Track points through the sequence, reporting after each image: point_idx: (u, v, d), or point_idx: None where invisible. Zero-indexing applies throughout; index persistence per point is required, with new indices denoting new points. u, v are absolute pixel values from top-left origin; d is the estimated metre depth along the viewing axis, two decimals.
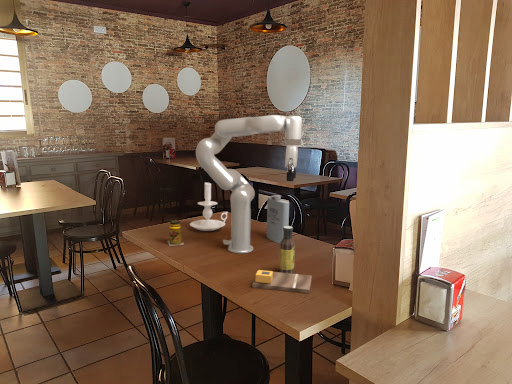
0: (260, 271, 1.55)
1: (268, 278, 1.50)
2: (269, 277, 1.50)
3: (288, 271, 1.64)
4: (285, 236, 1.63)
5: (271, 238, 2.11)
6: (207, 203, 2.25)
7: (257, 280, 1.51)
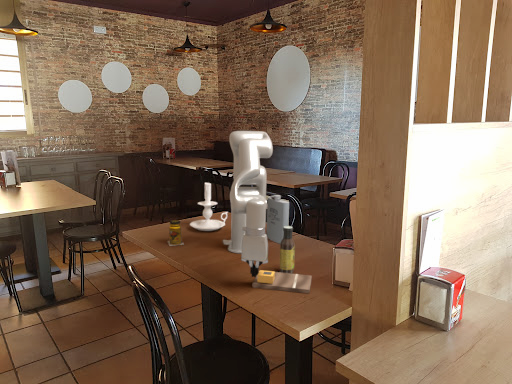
0: (262, 271, 1.54)
1: (270, 278, 1.50)
2: (271, 277, 1.50)
3: (288, 271, 1.64)
4: (285, 236, 1.63)
5: (271, 238, 2.11)
6: (207, 203, 2.25)
7: (259, 280, 1.51)
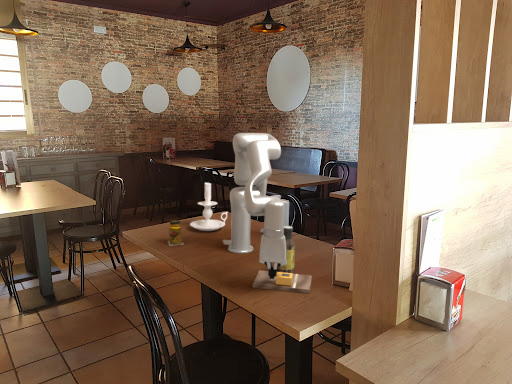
0: (280, 273, 1.53)
1: (288, 280, 1.49)
2: (289, 279, 1.49)
3: (288, 271, 1.64)
4: (285, 236, 1.63)
5: None
6: (207, 203, 2.25)
7: (278, 282, 1.50)
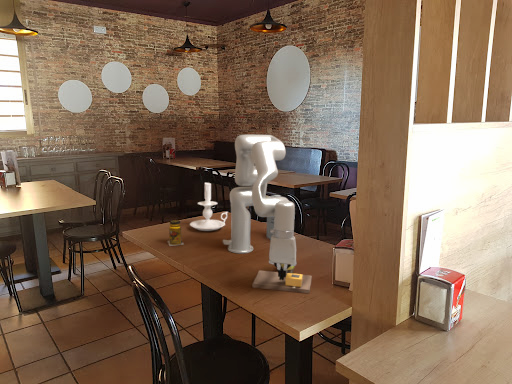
0: (289, 274, 1.52)
1: (298, 281, 1.48)
2: (299, 280, 1.48)
3: (288, 271, 1.64)
4: None
5: None
6: (207, 203, 2.25)
7: (287, 283, 1.49)
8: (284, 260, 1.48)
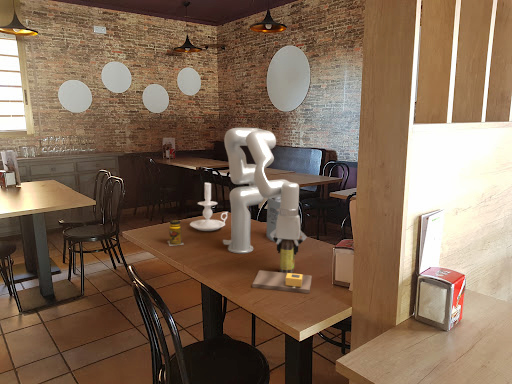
0: (289, 274, 1.52)
1: (298, 281, 1.48)
2: (299, 280, 1.48)
3: (288, 271, 1.64)
4: None
5: (271, 238, 2.11)
6: (207, 203, 2.25)
7: (288, 283, 1.49)
8: (289, 236, 1.62)
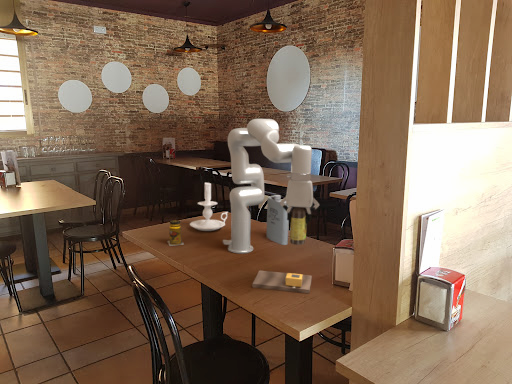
0: (289, 274, 1.52)
1: (298, 281, 1.48)
2: (299, 280, 1.48)
3: (299, 242, 1.52)
4: None
5: (271, 238, 2.11)
6: (207, 203, 2.25)
7: (288, 283, 1.49)
8: (301, 203, 1.49)
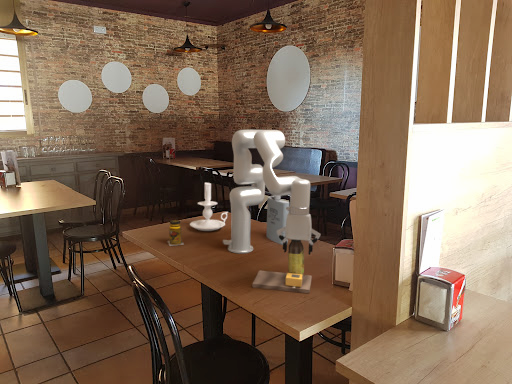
0: (289, 274, 1.52)
1: (298, 281, 1.48)
2: (299, 280, 1.48)
3: None
4: None
5: (271, 238, 2.11)
6: (207, 203, 2.25)
7: (288, 283, 1.49)
8: (300, 236, 1.51)
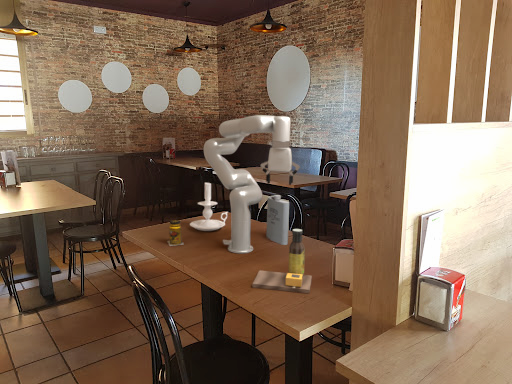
0: (289, 274, 1.52)
1: (298, 281, 1.48)
2: (299, 280, 1.48)
3: None
4: (294, 239, 1.54)
5: (271, 238, 2.11)
6: (207, 203, 2.25)
7: (288, 283, 1.49)
8: (281, 168, 1.68)
